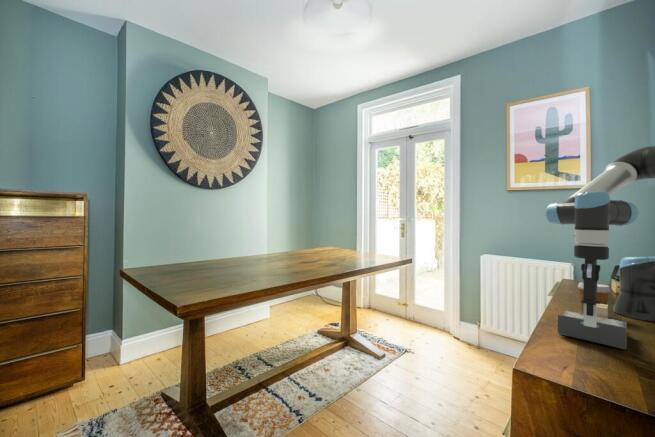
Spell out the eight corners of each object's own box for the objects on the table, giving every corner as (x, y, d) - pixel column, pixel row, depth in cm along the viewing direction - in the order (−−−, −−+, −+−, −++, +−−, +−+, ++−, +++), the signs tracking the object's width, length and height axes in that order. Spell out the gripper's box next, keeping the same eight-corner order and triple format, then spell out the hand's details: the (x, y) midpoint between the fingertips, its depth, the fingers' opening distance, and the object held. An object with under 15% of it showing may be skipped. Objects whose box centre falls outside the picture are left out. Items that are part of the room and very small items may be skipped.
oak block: (585, 320, 106) (585, 301, 106) (607, 325, 102) (608, 305, 102) (583, 324, 102) (583, 304, 102) (607, 329, 97) (607, 308, 98)
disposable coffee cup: (576, 310, 119) (577, 280, 119) (609, 315, 113) (609, 284, 113) (577, 315, 112) (578, 284, 112) (612, 321, 106) (612, 288, 106)
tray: (564, 322, 100) (564, 306, 101) (625, 335, 90) (626, 317, 90) (557, 332, 90) (557, 314, 90) (625, 348, 80) (626, 328, 80)
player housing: (565, 323, 103) (565, 310, 103) (626, 335, 92) (626, 321, 92) (558, 333, 92) (558, 320, 92) (626, 349, 82) (626, 333, 82)
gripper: (576, 243, 92) (575, 317, 92) (571, 244, 83) (570, 327, 83) (609, 244, 87) (608, 324, 86) (608, 247, 77) (606, 335, 77)
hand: (590, 325), depth 85 cm, fingers closed
